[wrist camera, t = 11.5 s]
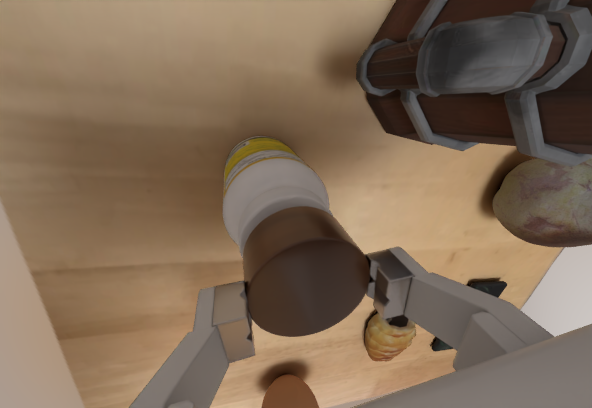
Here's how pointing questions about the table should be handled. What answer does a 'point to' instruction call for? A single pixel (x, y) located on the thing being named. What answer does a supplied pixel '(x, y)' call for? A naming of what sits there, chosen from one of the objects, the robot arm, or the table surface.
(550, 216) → the fruit
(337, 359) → the table surface
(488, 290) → the smartphone
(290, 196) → the pill bottle
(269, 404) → the egg
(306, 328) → the brown bottle cap
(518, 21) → the mug
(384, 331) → the pastry
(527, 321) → the robot arm
